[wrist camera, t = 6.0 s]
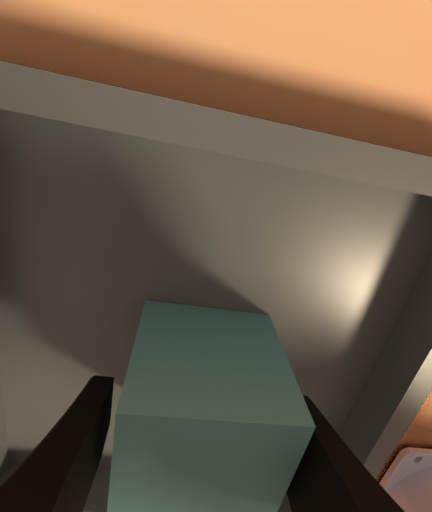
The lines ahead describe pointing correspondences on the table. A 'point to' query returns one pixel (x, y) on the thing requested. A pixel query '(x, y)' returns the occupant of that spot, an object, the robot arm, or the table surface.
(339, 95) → the table surface
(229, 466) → the teal block
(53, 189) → the charcoal tray
